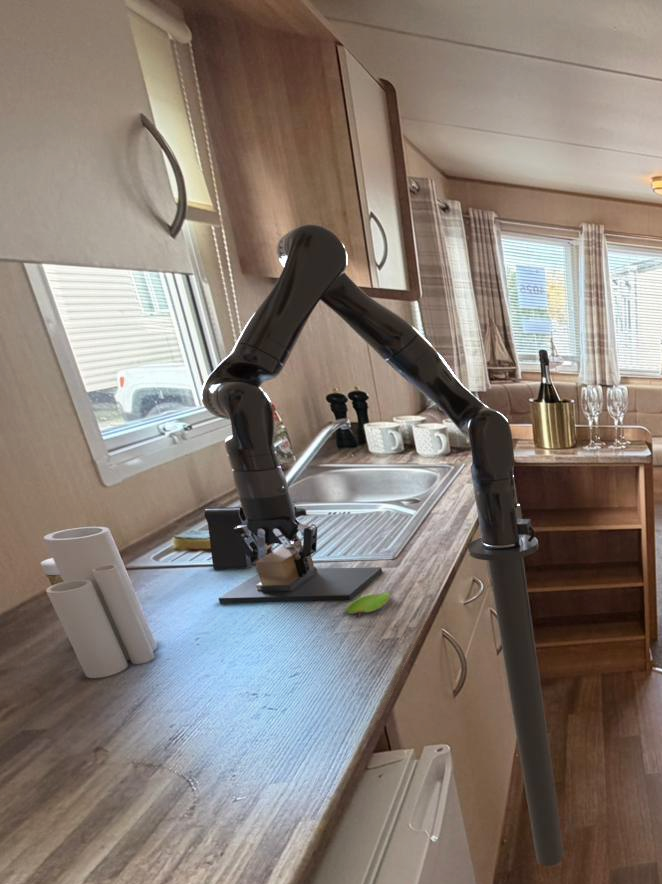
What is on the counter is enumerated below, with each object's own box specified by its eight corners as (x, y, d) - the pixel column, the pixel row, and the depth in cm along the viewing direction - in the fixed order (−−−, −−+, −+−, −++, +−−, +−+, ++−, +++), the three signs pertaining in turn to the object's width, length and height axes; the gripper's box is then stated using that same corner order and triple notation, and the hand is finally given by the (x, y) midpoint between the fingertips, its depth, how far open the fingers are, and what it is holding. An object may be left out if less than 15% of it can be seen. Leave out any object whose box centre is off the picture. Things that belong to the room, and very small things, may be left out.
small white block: (275, 583, 125) (273, 578, 125) (265, 589, 123) (264, 585, 122) (266, 583, 125) (265, 578, 125) (256, 590, 122) (255, 585, 122)
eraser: (317, 572, 131) (310, 544, 129) (291, 591, 122) (282, 562, 120) (290, 572, 130) (282, 545, 128) (262, 591, 121) (252, 562, 119)
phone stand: (247, 568, 135) (229, 513, 130) (213, 569, 133) (194, 514, 128) (267, 554, 143) (251, 502, 138) (236, 555, 141) (218, 502, 136)
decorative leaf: (336, 611, 119) (334, 606, 119) (382, 593, 126) (381, 589, 126) (360, 618, 116) (359, 613, 115) (406, 599, 123) (405, 595, 122)
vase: (106, 648, 102) (52, 529, 94) (165, 639, 106) (119, 524, 98) (80, 681, 94) (19, 553, 86) (147, 669, 97) (94, 546, 89)
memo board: (382, 572, 136) (381, 567, 136) (350, 600, 123) (348, 595, 122) (266, 574, 132) (265, 569, 132) (220, 603, 119) (218, 598, 118)
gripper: (316, 486, 124) (338, 568, 130) (232, 486, 121) (259, 569, 128) (295, 496, 117) (319, 582, 124) (206, 496, 114) (236, 584, 121)
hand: (288, 575), depth 126 cm, fingers closed on eraser, 4 cm apart
